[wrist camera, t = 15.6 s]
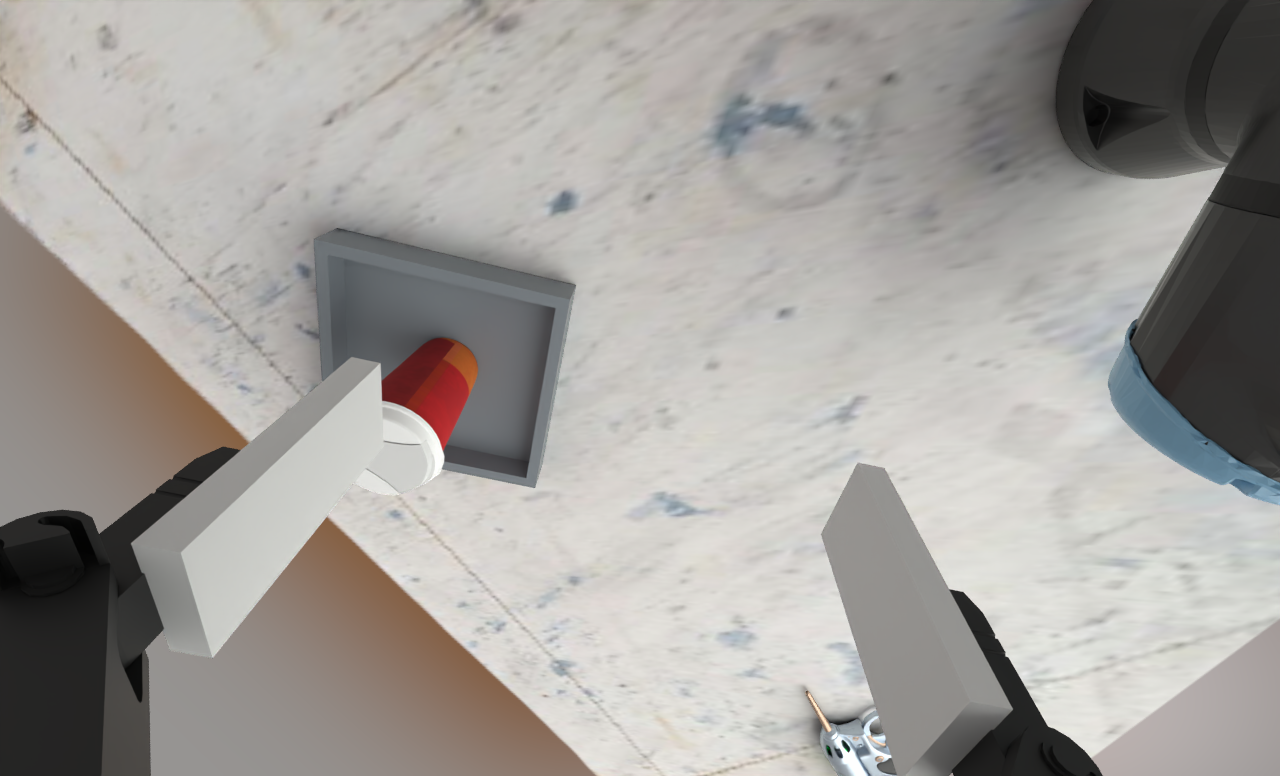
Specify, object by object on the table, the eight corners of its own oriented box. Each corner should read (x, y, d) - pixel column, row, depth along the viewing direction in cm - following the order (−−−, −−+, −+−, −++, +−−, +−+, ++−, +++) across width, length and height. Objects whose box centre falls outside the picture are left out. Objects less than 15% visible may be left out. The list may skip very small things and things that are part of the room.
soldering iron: (949, 758, 83) (850, 791, 85) (892, 638, 73) (782, 679, 76) (971, 800, 77) (865, 833, 80) (913, 676, 68) (794, 719, 70)
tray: (575, 285, 47) (570, 299, 44) (541, 465, 56) (535, 488, 53) (337, 228, 45) (313, 239, 42) (344, 424, 55) (325, 445, 52)
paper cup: (395, 379, 51) (312, 475, 38) (419, 311, 47) (336, 392, 35) (475, 414, 52) (419, 516, 40) (503, 350, 49) (452, 441, 37)
